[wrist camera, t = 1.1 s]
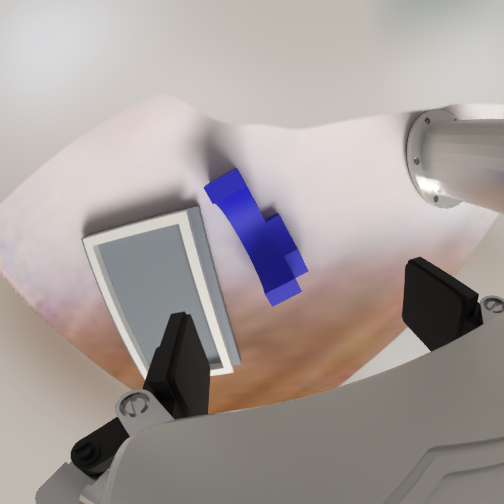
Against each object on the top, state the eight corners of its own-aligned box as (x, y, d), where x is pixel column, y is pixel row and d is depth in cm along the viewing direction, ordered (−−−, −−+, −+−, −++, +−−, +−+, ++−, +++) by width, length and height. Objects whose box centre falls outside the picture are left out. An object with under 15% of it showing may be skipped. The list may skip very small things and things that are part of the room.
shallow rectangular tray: (199, 205, 27) (196, 208, 25) (241, 359, 33) (241, 371, 31) (85, 235, 27) (75, 241, 25) (143, 371, 33) (140, 382, 31)
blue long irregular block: (301, 260, 30) (316, 283, 24) (265, 279, 30) (272, 306, 24) (249, 160, 26) (254, 159, 20) (209, 182, 26) (203, 187, 21)
